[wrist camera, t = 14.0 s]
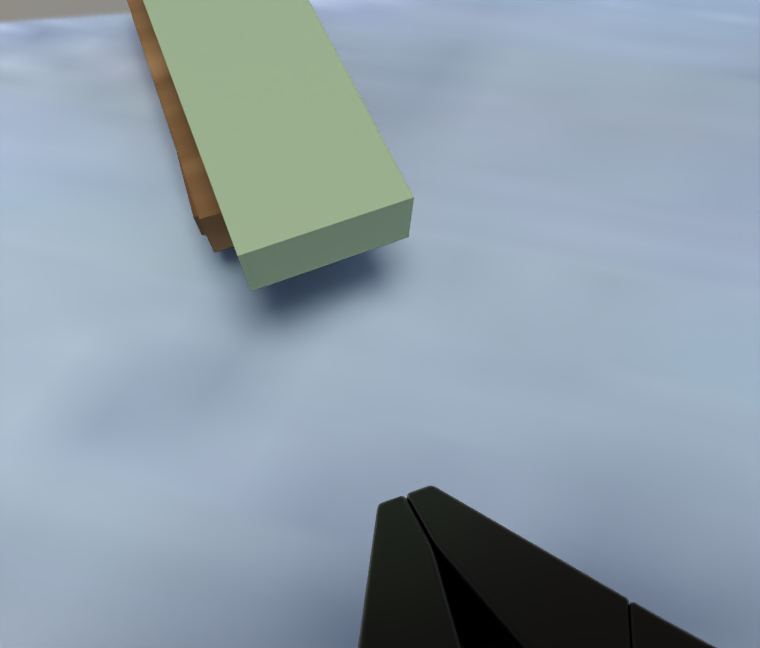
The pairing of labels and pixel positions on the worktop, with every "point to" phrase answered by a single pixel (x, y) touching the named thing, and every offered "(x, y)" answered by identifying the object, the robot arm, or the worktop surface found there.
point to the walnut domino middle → (181, 133)
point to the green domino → (281, 134)
